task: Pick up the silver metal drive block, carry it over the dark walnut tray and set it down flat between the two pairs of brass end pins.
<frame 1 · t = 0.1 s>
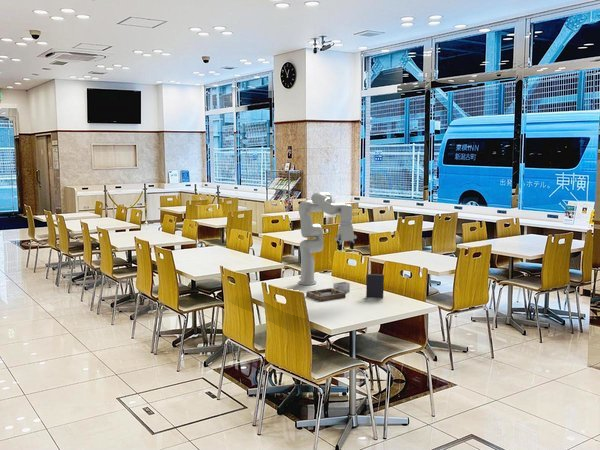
hand: (345, 249, 376), 31 cm above the table, tool pointing down, fingers open, 9 cm apart
tray: (325, 296, 379), on the table
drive: (341, 291, 393), on the table
calculator: (374, 297, 380), on the table
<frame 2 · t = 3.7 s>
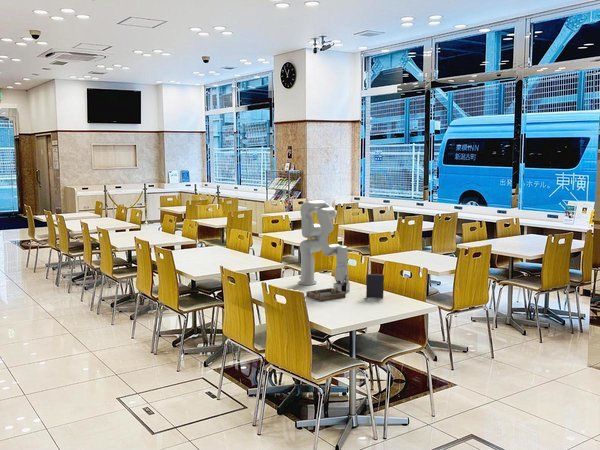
hand: (341, 290, 393), 1 cm above the table, tool pointing down, fingers closed on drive, 5 cm apart
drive: (341, 291, 393), on the table, touching gripper
everything else where it was.
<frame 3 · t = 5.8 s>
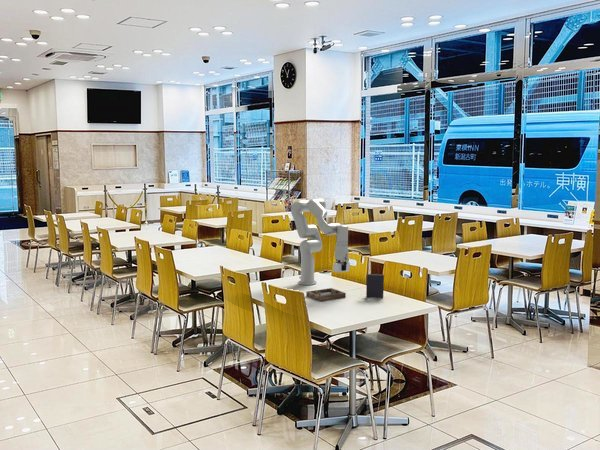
hand: (341, 269, 392), 15 cm above the table, tool pointing down, fingers closed on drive, 5 cm apart
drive: (341, 271, 392), point 14 cm above the table, touching gripper
everything else where it was.
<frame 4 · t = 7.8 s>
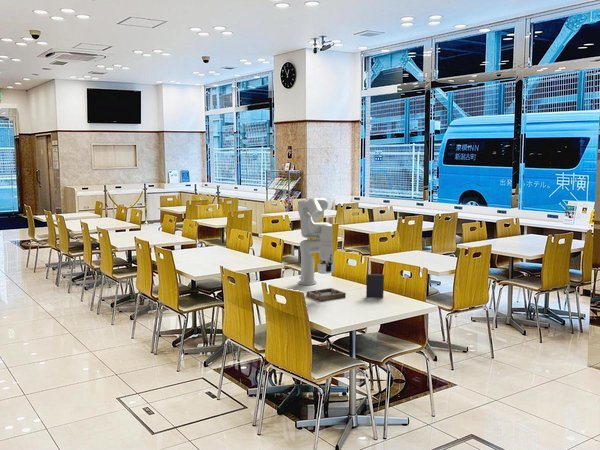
hand: (326, 270, 377), 17 cm above the table, tool pointing down, fingers closed on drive, 5 cm apart
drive: (326, 272, 377), point 16 cm above the table, touching gripper
everything else where it was.
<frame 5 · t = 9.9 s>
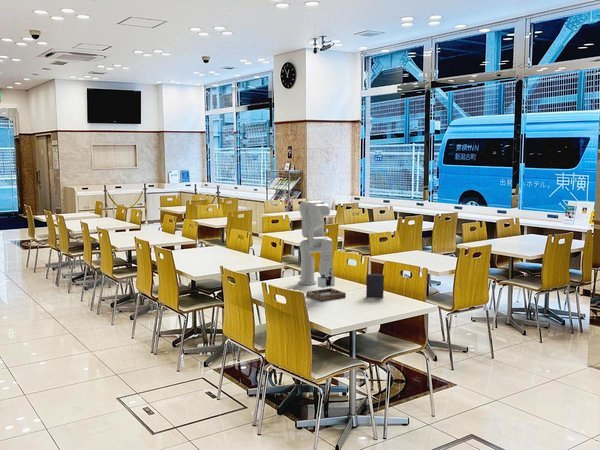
hand: (326, 284, 378), 8 cm above the table, tool pointing down, fingers closed on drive, 5 cm apart
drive: (326, 286, 378), point 7 cm above the table, touching gripper
everything else where it was.
when the fingers open (3 cm above the table, at t = 11.9 s): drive drops 1 cm, resting on tray.
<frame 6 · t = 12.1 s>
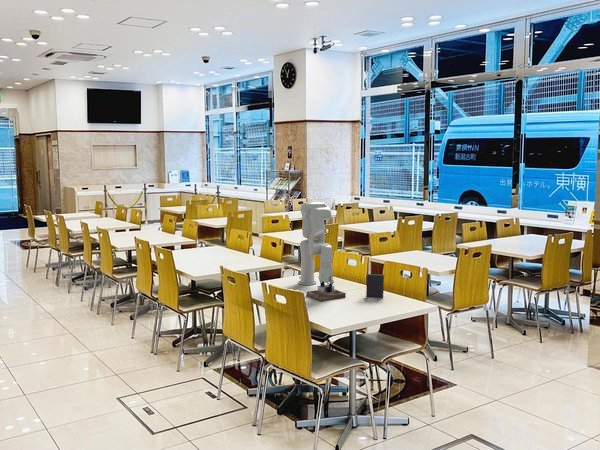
hand: (325, 290, 379), 4 cm above the table, tool pointing down, fingers open, 7 cm apart
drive: (325, 295, 379), point 1 cm above the table, touching tray
everything else where it was.
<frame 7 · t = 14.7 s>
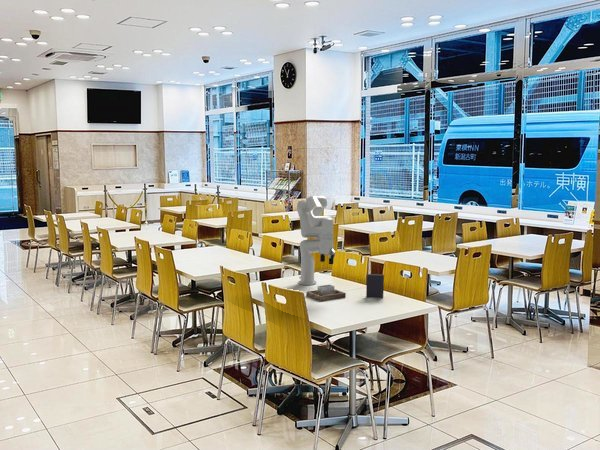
hand: (326, 262, 377), 22 cm above the table, tool pointing down, fingers open, 9 cm apart
nothing on the table moved.
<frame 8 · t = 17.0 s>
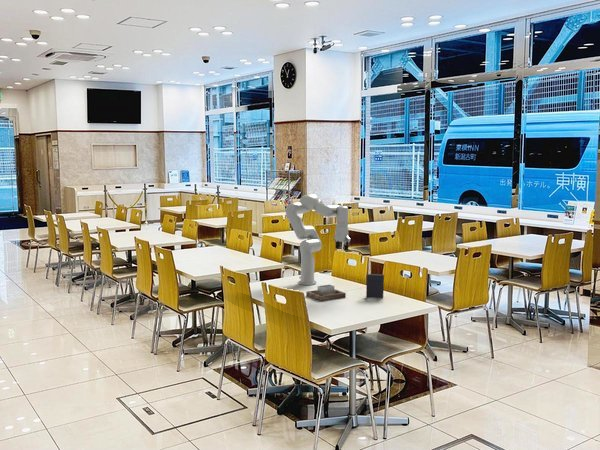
hand: (341, 249, 394), 28 cm above the table, tool pointing down, fingers open, 9 cm apart
nothing on the table moved.
at the end: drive 0.1 cm off-centre on the tray, point 1.1 cm above the tray's base; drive tilted 0°; the gripper is holding nothing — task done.
